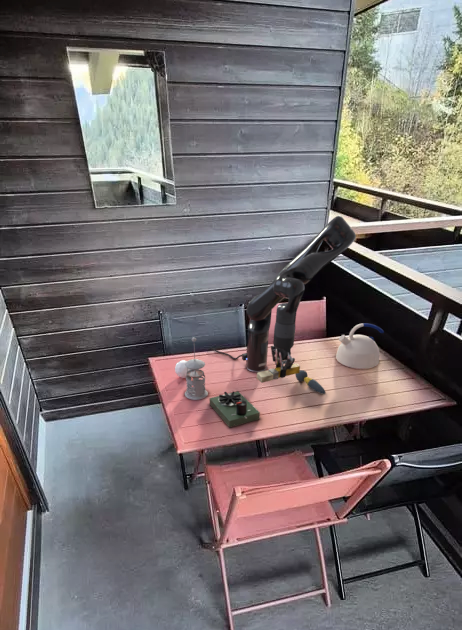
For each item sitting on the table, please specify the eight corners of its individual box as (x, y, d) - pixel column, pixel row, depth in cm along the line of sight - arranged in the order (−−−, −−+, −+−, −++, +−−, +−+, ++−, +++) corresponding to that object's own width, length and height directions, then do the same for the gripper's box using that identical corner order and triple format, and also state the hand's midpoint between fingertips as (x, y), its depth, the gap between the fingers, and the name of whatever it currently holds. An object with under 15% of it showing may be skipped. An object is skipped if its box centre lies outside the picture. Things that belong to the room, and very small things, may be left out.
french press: (190, 402, 179) (187, 344, 164) (179, 389, 187) (175, 333, 172) (211, 396, 183) (210, 340, 168) (200, 383, 191) (198, 329, 176)
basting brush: (261, 383, 165) (262, 375, 163) (256, 378, 168) (256, 371, 166) (300, 373, 171) (301, 366, 169) (294, 369, 174) (295, 362, 172)
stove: (209, 404, 178) (209, 397, 176) (238, 397, 182) (238, 390, 181) (230, 429, 164) (230, 422, 162) (261, 420, 169) (261, 413, 167)
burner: (214, 398, 176) (214, 394, 175) (234, 393, 179) (235, 389, 178) (224, 409, 169) (224, 405, 168) (245, 403, 173) (245, 399, 172)
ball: (189, 382, 198) (197, 372, 192) (173, 380, 193) (180, 370, 187) (186, 368, 201) (194, 358, 195) (170, 365, 196) (178, 355, 190)
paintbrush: (330, 393, 186) (332, 382, 183) (322, 396, 183) (324, 386, 180) (297, 375, 198) (298, 365, 195) (289, 378, 196) (290, 368, 193)
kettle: (329, 351, 219) (335, 315, 208) (369, 349, 221) (377, 314, 210) (342, 370, 202) (349, 333, 192) (385, 368, 204) (394, 331, 194)
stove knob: (243, 408, 170) (244, 398, 167) (248, 414, 167) (248, 403, 164) (234, 411, 168) (234, 400, 165) (238, 416, 165) (239, 405, 162)
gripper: (265, 327, 163) (262, 369, 173) (285, 342, 153) (281, 385, 163) (283, 324, 166) (279, 366, 176) (303, 338, 156) (298, 381, 166)
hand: (280, 375), depth 170 cm, fingers closed on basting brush, 2 cm apart
